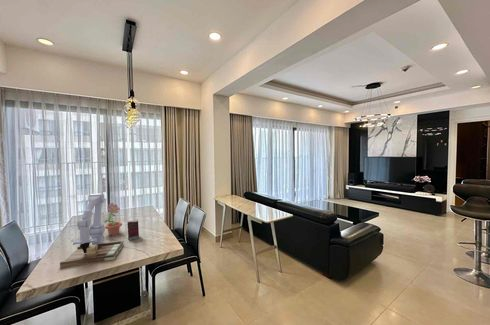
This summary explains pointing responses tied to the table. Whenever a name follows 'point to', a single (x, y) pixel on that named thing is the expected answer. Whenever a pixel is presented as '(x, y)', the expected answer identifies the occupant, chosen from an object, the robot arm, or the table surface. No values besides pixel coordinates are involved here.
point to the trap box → (103, 254)
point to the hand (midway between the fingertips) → (85, 252)
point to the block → (92, 249)
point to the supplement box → (133, 229)
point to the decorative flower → (114, 226)
